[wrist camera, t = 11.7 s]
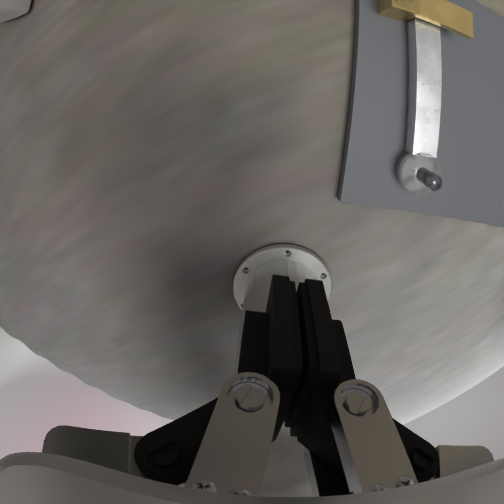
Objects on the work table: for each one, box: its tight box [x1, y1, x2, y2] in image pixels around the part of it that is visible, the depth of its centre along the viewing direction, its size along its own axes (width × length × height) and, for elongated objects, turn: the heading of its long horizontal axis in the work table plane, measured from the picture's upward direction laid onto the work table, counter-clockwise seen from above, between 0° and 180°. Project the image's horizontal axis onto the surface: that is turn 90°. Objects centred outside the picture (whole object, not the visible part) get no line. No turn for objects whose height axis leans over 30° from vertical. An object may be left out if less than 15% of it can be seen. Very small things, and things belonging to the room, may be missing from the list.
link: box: [396, 17, 442, 196], centre depth 22 cm, size 24×5×5 cm, turn 1°
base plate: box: [337, 0, 504, 227], centre depth 25 cm, size 29×32×2 cm
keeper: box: [378, 0, 473, 39], centre depth 18 cm, size 3×10×4 cm, turn 87°
